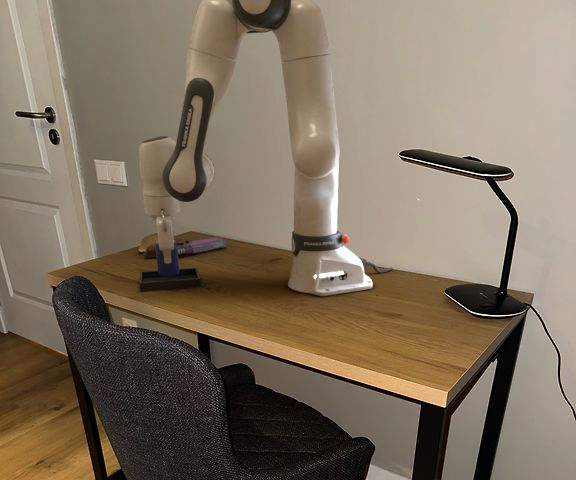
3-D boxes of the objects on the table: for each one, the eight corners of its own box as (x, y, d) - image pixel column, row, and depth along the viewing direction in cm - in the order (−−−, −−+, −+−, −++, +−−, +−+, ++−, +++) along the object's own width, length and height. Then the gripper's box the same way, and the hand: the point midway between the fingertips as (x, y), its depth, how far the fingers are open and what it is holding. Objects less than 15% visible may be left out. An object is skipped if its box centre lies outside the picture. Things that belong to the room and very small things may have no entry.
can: (178, 270, 158) (175, 237, 153) (180, 276, 153) (176, 242, 149) (158, 271, 157) (154, 238, 152) (158, 278, 152) (154, 244, 148)
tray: (197, 275, 162) (197, 267, 161) (201, 287, 153) (200, 278, 152) (140, 279, 159) (139, 271, 158) (140, 291, 150) (139, 283, 149)
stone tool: (173, 256, 177) (177, 237, 199) (170, 242, 175) (175, 225, 197) (136, 262, 177) (144, 243, 199) (132, 249, 175) (141, 231, 197)
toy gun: (208, 243, 194) (226, 249, 188) (158, 253, 182) (175, 259, 176) (208, 231, 193) (226, 236, 186) (157, 240, 181) (174, 246, 174)
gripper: (176, 213, 138) (181, 269, 145) (172, 197, 156) (177, 248, 162) (149, 214, 137) (156, 271, 143) (148, 199, 154) (154, 250, 161)
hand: (167, 259), depth 153 cm, fingers closed on can, 5 cm apart
